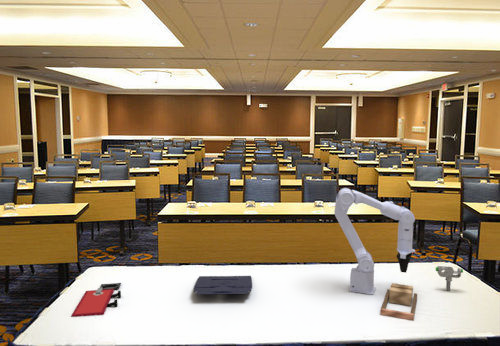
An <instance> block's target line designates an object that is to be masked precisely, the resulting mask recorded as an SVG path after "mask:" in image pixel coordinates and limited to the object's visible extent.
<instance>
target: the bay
mask: <svg viewBox="0 0 500 346" xmlns="http://www.w3.org/2000/svg"><path fill="white" fill-rule="evenodd" d="M389 293H390V289H389V288H388V289H387V290H386V293H385V296H384V298H383V301H382V304H381V306H380V310H379V311H380V312H379V314H380V315H382V316H385V317H386V316H387V317H391V318H397V319H403V320H408V321H414V319H415V314H416V308H417V307H416V306H417V301H418V293H415V292H414V293H413V297H412V303H411V306H410V312H405V311H402V310H401V311H399V310H394V309H389V308H387V307H388V303H389Z"/></svg>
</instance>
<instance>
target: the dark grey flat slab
mask: <svg viewBox="0 0 500 346" xmlns="http://www.w3.org/2000/svg"><path fill="white" fill-rule="evenodd" d="M252 279H253V277H252V276H251V275H225V276H223V275H213V276H212V275H209V276H208V275H206V276H205V275H203V276H201V275H200V276H198V277H197V279H196V281H195V284H194V286H193V292H194V293H195V295H229V294H230V295H231V294H232V295H233V294H235V295H237V294H238V295H240V294H243V295H244V294H245V295H247V294H249V292H252V289H253V280H252Z"/></svg>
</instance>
